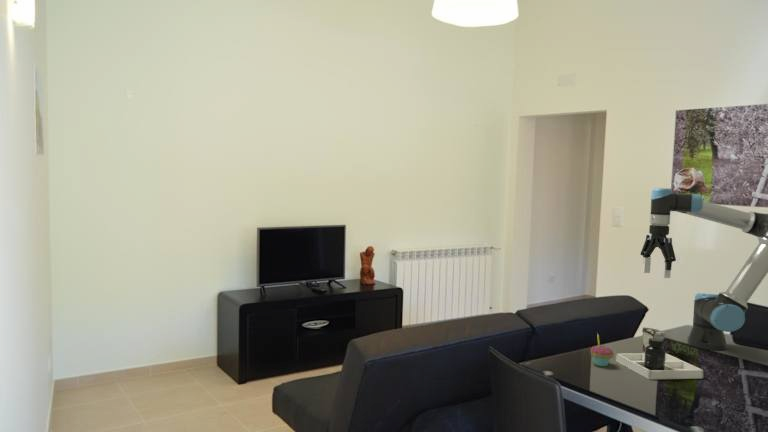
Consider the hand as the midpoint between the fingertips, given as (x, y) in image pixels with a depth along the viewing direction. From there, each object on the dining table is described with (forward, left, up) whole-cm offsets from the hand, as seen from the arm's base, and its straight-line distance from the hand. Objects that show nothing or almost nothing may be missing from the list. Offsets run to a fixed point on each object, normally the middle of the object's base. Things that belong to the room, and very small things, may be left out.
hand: (656, 275), depth 248 cm
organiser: (+15, +26, -32) cm, 44 cm away
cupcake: (+34, +19, -32) cm, 50 cm away
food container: (+4, +8, -32) cm, 33 cm away
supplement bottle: (+20, +31, -31) cm, 48 cm away
